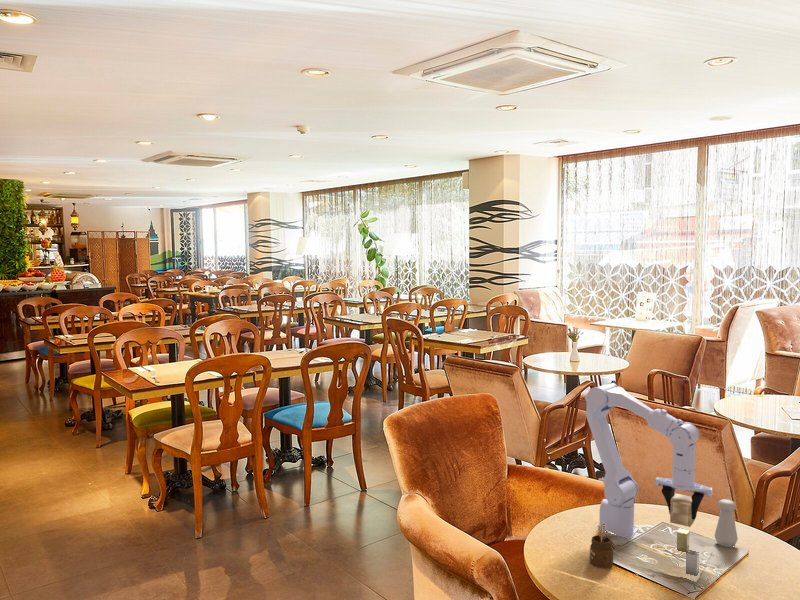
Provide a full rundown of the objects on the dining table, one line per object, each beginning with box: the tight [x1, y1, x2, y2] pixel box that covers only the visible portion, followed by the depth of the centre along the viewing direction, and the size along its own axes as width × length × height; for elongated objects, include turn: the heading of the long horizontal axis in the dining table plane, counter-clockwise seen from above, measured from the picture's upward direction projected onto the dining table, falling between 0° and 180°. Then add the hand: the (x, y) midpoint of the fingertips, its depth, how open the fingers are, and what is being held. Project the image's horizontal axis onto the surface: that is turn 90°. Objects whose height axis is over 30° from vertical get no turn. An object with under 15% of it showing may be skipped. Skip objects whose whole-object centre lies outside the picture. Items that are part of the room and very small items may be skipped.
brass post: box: [676, 528, 690, 553], centre depth 179 cm, size 3×3×6 cm
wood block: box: [669, 492, 696, 528], centre depth 178 cm, size 5×5×7 cm
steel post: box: [686, 550, 699, 576], centre depth 166 cm, size 3×3×6 cm
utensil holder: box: [589, 522, 614, 569], centre depth 172 cm, size 6×6×12 cm
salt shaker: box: [714, 499, 739, 548], centre depth 182 cm, size 6×6×13 cm
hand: (682, 515), depth 178 cm, fingers closed on wood block, 5 cm apart
